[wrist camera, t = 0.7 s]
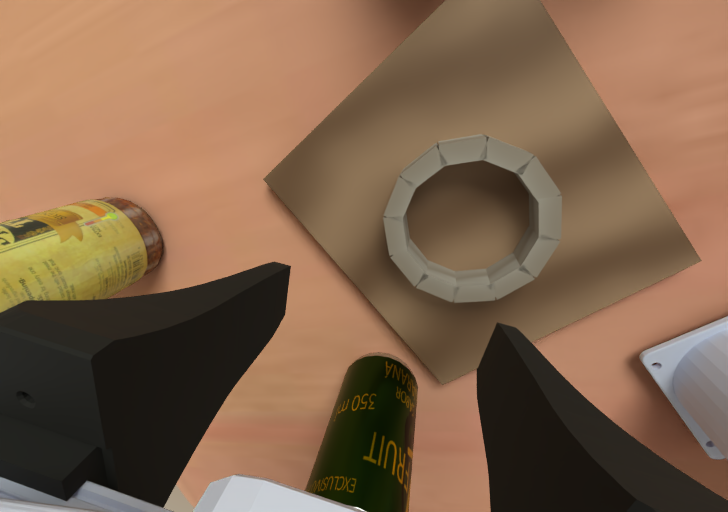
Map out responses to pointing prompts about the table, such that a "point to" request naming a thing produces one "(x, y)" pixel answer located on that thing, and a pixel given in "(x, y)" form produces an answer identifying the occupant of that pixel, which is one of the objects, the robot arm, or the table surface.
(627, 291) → the collar board
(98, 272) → the sauce bottle
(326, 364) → the table surface
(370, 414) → the beer can
